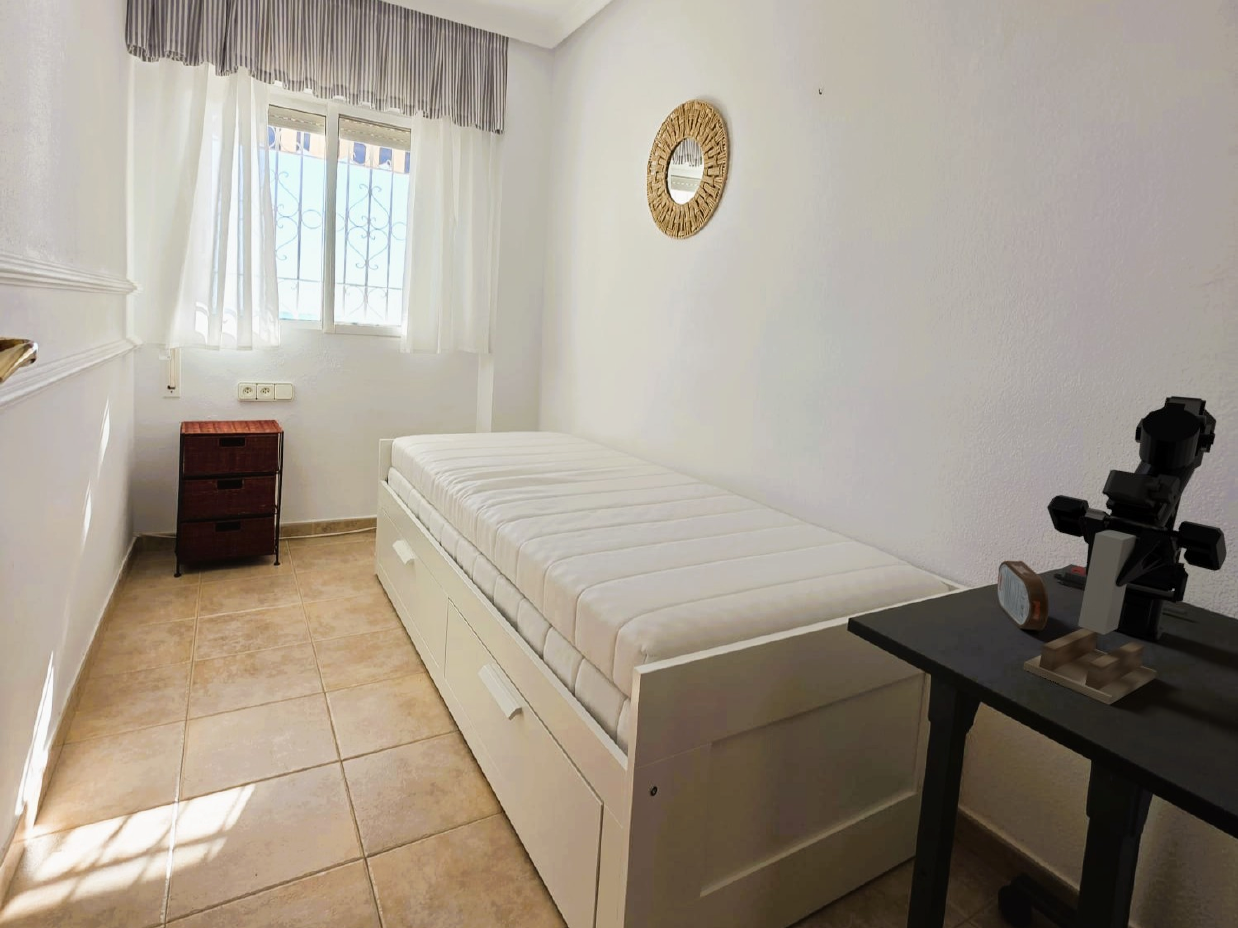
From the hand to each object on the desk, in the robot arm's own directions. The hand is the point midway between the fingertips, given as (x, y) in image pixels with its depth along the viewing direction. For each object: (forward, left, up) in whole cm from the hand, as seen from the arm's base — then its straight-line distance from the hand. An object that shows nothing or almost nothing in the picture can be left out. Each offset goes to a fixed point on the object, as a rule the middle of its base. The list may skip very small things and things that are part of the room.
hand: (1102, 580), depth 88 cm
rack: (-1, 0, -13) cm, 13 cm away
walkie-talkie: (-42, -4, -14) cm, 45 cm away
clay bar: (-1, 0, -7) cm, 7 cm away
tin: (-14, -12, -13) cm, 23 cm away
